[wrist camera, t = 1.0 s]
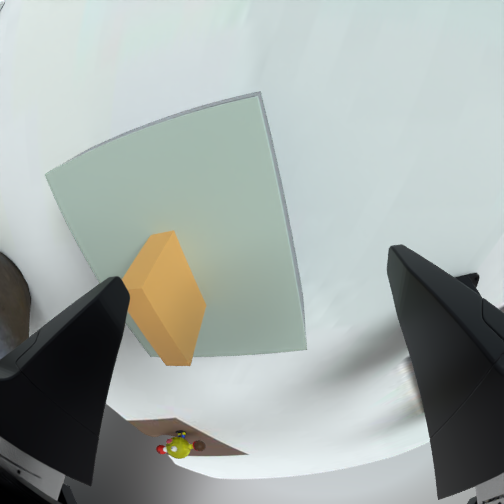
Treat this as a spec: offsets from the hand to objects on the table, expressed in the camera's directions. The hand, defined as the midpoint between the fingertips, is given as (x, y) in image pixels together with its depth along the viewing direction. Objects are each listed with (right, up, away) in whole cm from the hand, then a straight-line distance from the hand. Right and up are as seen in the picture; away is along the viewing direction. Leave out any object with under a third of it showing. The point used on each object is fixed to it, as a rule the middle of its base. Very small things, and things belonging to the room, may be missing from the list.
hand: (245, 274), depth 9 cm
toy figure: (-15, -39, +44) cm, 60 cm away
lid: (-4, 0, +11) cm, 11 cm away
